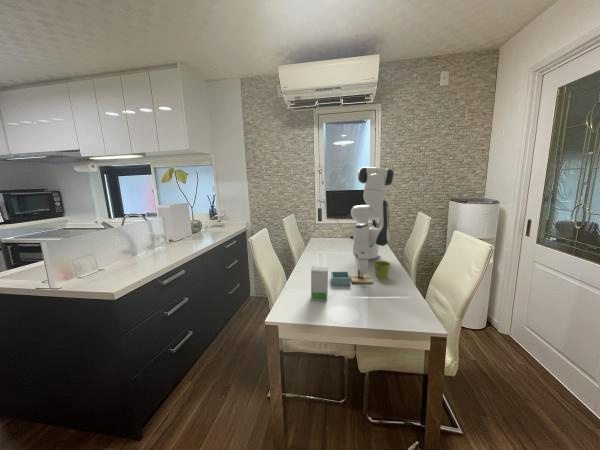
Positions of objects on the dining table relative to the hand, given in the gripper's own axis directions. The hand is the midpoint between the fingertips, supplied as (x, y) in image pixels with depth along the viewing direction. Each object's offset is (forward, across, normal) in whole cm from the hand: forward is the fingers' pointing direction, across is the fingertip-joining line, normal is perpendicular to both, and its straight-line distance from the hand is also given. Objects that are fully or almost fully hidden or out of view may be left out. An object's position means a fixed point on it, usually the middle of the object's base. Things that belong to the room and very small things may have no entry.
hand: (360, 274), depth 145 cm
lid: (+3, 0, 0) cm, 3 cm away
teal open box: (+4, +3, -12) cm, 13 cm away
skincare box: (+4, +21, -24) cm, 32 cm away
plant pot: (+4, -5, +13) cm, 14 cm away
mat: (+4, 0, 0) cm, 4 cm away
